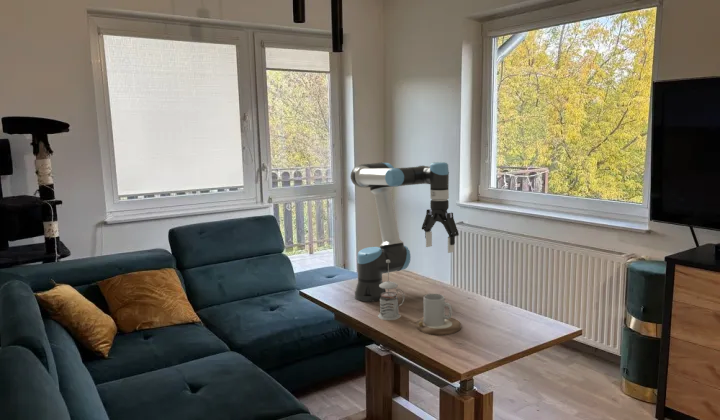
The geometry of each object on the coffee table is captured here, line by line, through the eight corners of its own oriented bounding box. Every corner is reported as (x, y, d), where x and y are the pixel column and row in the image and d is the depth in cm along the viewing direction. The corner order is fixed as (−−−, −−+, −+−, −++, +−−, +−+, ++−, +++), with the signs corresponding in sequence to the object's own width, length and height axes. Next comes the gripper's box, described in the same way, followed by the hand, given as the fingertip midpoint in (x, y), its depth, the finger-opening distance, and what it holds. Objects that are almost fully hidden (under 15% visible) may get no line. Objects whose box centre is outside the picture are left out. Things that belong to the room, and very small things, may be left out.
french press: (381, 311, 231) (380, 256, 227) (407, 313, 227) (406, 257, 223) (374, 318, 222) (373, 261, 218) (401, 321, 218) (400, 263, 214)
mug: (419, 324, 211) (419, 298, 209) (429, 317, 218) (428, 292, 216) (447, 329, 205) (447, 302, 203) (456, 322, 212) (456, 296, 210)
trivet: (407, 324, 214) (406, 318, 214) (439, 315, 224) (439, 309, 224) (436, 338, 199) (436, 332, 199) (470, 327, 209) (470, 321, 209)
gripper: (413, 197, 226) (413, 245, 229) (453, 203, 205) (453, 256, 209) (426, 195, 230) (426, 243, 233) (467, 201, 209) (467, 253, 213)
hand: (439, 249), depth 221 cm, fingers open, 13 cm apart
